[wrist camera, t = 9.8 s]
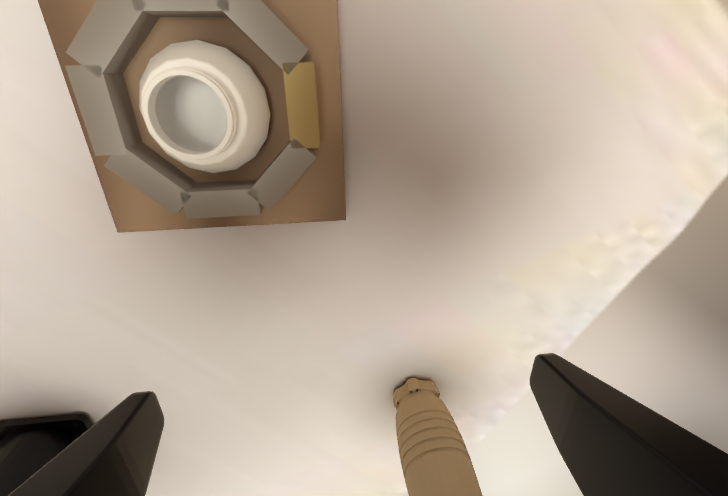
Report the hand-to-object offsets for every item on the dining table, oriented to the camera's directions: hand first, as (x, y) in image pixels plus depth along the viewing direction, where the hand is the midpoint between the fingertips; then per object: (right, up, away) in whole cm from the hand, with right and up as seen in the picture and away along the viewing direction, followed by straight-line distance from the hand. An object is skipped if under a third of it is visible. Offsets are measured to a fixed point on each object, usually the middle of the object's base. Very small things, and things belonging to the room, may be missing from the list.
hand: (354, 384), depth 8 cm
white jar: (-6, +9, +7) cm, 13 cm away
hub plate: (-6, +10, +8) cm, 14 cm away
